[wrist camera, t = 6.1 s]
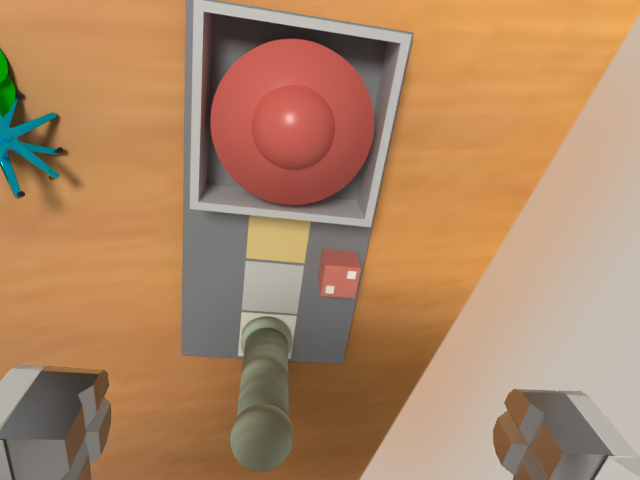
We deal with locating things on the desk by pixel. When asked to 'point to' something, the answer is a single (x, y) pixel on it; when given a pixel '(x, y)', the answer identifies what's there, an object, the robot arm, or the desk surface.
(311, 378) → the desk surface
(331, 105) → the dome
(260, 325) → the pawn
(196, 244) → the game board
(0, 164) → the stick construction toy
